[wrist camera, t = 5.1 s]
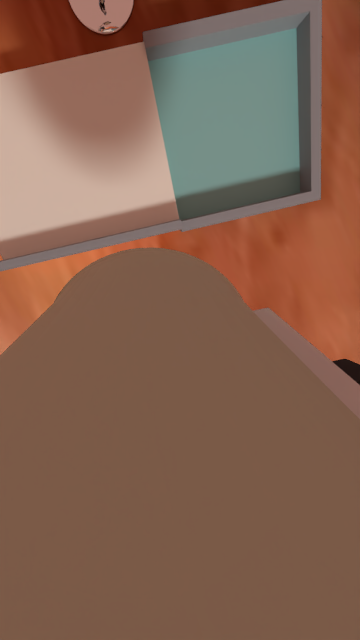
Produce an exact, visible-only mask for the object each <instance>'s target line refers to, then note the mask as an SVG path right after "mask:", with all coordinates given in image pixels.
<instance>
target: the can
mask: <svg viewBox="0 0 360 640" xmlns="http://www.w3.org/2000/svg"><path fill="white" fill-rule="evenodd" d="M0 640H360V419H359V418H358V417H357V416H356V415H355V414H354V413H353V412H352V411H351V410H350V409H349V408H348V407H347V406H346V405H345V404H344V403H343V402H342V401H341V400H340V399H339V398H338V397H337V396H336V395H335V394H334V393H333V392H332V391H331V390H330V389H329V388H328V387H327V386H326V385H325V384H324V383H323V382H322V381H321V380H320V379H319V378H318V377H317V376H316V375H315V374H314V373H313V372H312V371H311V370H310V369H309V368H308V367H307V366H306V365H305V364H304V363H303V362H302V361H301V360H300V359H299V358H298V357H297V356H296V355H295V354H294V353H293V352H292V351H291V350H290V349H289V348H288V347H287V346H286V345H285V344H284V343H283V342H282V341H281V340H280V339H279V338H278V337H277V336H276V335H275V334H274V333H273V332H272V331H271V330H270V329H269V327H268V326H267V325H266V324H265V323H264V322H263V321H262V320H261V319H260V318H259V317H258V316H257V315H256V314H255V313H254V312H253V311H252V310H251V309H250V308H249V307H248V306H247V305H246V304H245V303H244V301H243V299H242V297H241V296H240V294H239V293H238V291H237V290H236V288H235V287H234V286H233V285H232V284H231V282H230V281H229V280H228V279H227V278H226V277H225V276H224V275H223V274H221V273H220V272H219V271H218V270H216V269H215V268H214V267H212V266H211V265H209V264H207V263H206V262H204V261H202V260H200V259H198V258H196V257H194V256H191V255H188V254H186V253H183V252H179V251H175V250H169V249H163V248H137V249H129V250H125V251H120V252H117V253H114V254H111V255H108V256H106V257H103V258H101V259H99V260H97V261H95V262H93V263H91V264H90V265H88V266H87V267H85V268H84V269H82V270H81V271H80V272H79V273H77V274H76V275H75V276H74V277H73V278H72V279H71V280H70V281H69V282H68V283H67V284H66V285H65V286H64V288H63V289H62V290H61V292H60V293H59V295H58V296H57V298H56V300H55V301H54V303H53V304H52V305H51V306H50V307H49V308H48V309H47V310H46V311H45V312H44V313H43V314H42V315H41V316H40V317H39V318H38V319H37V320H36V321H35V322H34V323H33V324H32V325H31V326H30V327H29V328H28V329H27V330H26V331H25V332H24V333H23V334H22V335H21V336H20V337H19V338H18V339H17V340H16V341H15V342H14V343H13V344H12V345H10V346H9V347H8V348H7V349H6V350H5V351H4V352H3V353H2V354H1V355H0Z"/></svg>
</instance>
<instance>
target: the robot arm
mask: <svg viewBox="0 0 360 640" xmlns="http://www.w3.org/2000/svg"><path fill="white" fill-rule="evenodd" d="M253 312H254V313H255V314H256V315H257V316H258V317H259V318H260V319H261V320H262V321H263V322H264V323H265V324H266V325H267V326H268V327H269V329H270V330H271V331H272V332H273V333H274V334H275V335H276V336H277V337H278V338H279V339H280V340H281V341H282V342H283V343H284V344H285V345H286V346H287V347H288V348H289V349H290V350H291V351H292V352H293V353H294V354H295V355H296V356H297V357H298V358H299V359H300V360H301V361H302V362H303V363H304V364H305V365H306V366H307V367H308V368H309V369H310V370H311V371H312V372H313V373H314V374H315V375H316V376H317V377H318V378H319V379H320V380H321V381H322V382H323V383H324V384H325V385H326V386H327V387H328V388H329V389H330V390H331V391H332V392H333V393H334V394H335V395H336V396H337V397H338V398H339V399H340V400H341V401H342V402H343V403H344V404H345V405H346V406H347V407H348V408H349V409H350V410H351V411H352V412H353V413H354V414H355V415H356V416H357V417H358V418H359V419H360V365H359V364H357V363H355V362H352V361H350V360H347V359H341V360H337V361H331V360H330V359H328V358H327V357H326V356H325V355H324V354H323V353H321V352H320V351H319V350H318V349H317V348H315V347H314V346H313V345H312V344H311V343H310V342H308V341H307V340H306V339H305V338H304V337H302V336H301V335H300V334H299V333H298V332H297V331H295V330H294V329H293V328H292V327H291V326H289V325H288V324H287V323H286V322H285V321H284V320H282V319H281V318H280V317H279V316H278V315H277V314H275V313H274V312H273V311H272V310H271V309H269V308H264V309H259V310H255V311H253Z"/></svg>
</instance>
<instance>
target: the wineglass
mask: <svg viewBox="0 0 360 640" xmlns="http://www.w3.org/2000/svg"><path fill="white" fill-rule="evenodd" d="M69 3H70V6H71V8H72V10H73V12H74V13H75V15H76V17H77V18H78V19H79V20H80V22H81V23H82V24H83V25H84V26H85V27H87V28H88V29H89V30H91V31H93V32H95V33H98V34H102V35H109V34H113V33H116V32H117V31H119V30H120V29H122V28H123V27H124V26H125V24H126V23H127V22H128V20H129V18H130V16H131V13H132V9H133V5H134V0H69Z"/></svg>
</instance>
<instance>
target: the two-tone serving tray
mask: <svg viewBox="0 0 360 640" xmlns="http://www.w3.org/2000/svg"><path fill="white" fill-rule="evenodd" d="M321 62H322V0H283V1H278V2H274V3H269V4H265V5H260V6H256V7H252V8H247V9H243V10H238V11H234V12H229V13H225V14H220V15H216V16H211V17H207V18H202V19H198V20H194V21H189V22H185V23H180V24H176V25H171V26H167V27H162V28H158V29H153V30H149V31H144V32H143V42H140V43H135V44H131V45H126V46H122V47H117V48H113V49H109V50H104V51H100V52H95V53H91V54H86V55H82V56H77V57H73V58H68V59H64V60H59V61H55V62H51V63H46V64H42V65H37V66H33V67H28V68H24V69H19V70H15V71H10V72H6V73H2V74H0V254H1V256H2V258H3V260H2V261H0V271H4V270H8V269H13V268H17V267H21V266H26V265H30V264H34V263H38V262H43V261H47V260H51V259H56V258H60V257H64V256H68V255H73V254H77V253H81V252H86V251H90V250H94V249H99V248H103V247H107V246H111V245H116V244H120V243H124V242H129V241H133V240H137V239H141V238H146V237H150V236H154V235H159V234H163V233H167V232H172V231H176V230H181V231H182V232H183V231H187V230H192V229H196V228H200V227H205V226H209V225H213V224H217V223H222V222H226V221H230V220H235V219H239V218H243V217H247V216H252V215H256V214H260V213H265V212H269V211H273V210H277V209H282V208H286V207H290V206H295V205H299V204H303V203H307V202H312V201H316V200H320V199H321Z"/></svg>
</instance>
